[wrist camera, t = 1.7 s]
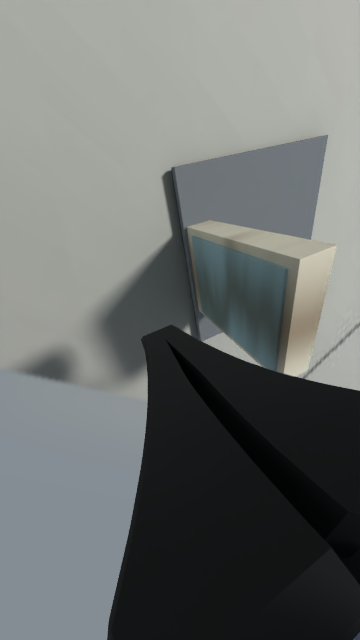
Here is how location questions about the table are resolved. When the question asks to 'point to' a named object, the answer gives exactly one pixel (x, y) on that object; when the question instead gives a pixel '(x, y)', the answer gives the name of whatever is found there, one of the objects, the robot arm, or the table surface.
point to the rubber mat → (251, 196)
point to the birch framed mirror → (262, 290)
